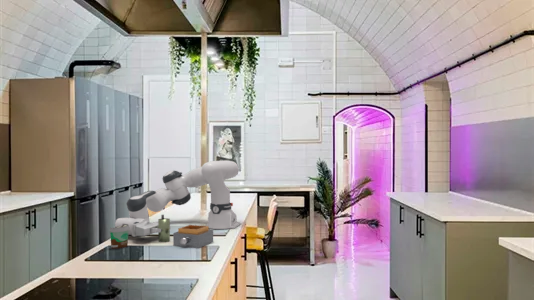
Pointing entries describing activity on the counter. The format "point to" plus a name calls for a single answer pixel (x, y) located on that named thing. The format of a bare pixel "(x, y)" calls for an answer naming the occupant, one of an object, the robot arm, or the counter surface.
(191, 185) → the robot arm
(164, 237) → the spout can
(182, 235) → the grey drawer box
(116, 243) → the food container
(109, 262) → the counter surface
